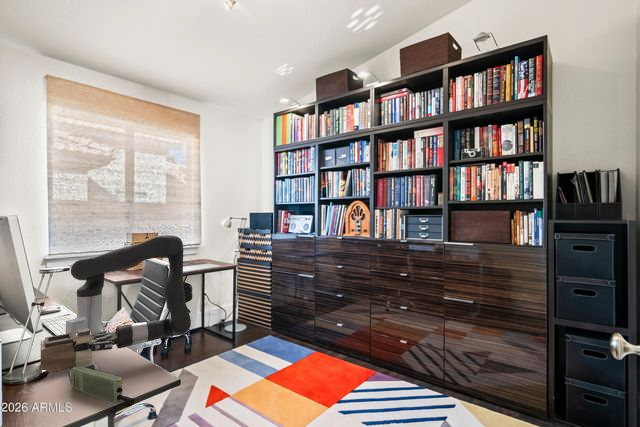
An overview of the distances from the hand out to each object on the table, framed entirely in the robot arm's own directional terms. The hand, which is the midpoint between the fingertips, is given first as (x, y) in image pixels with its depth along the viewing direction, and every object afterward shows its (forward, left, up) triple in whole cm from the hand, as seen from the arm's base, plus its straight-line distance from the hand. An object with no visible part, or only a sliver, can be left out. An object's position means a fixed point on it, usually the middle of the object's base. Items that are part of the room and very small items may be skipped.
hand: (73, 346), depth 113 cm
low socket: (0, +3, -10) cm, 10 cm away
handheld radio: (+20, +5, -10) cm, 23 cm away
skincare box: (-25, +3, -10) cm, 27 cm away
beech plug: (0, +3, -6) cm, 7 cm away
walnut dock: (-14, -3, -10) cm, 17 cm away
